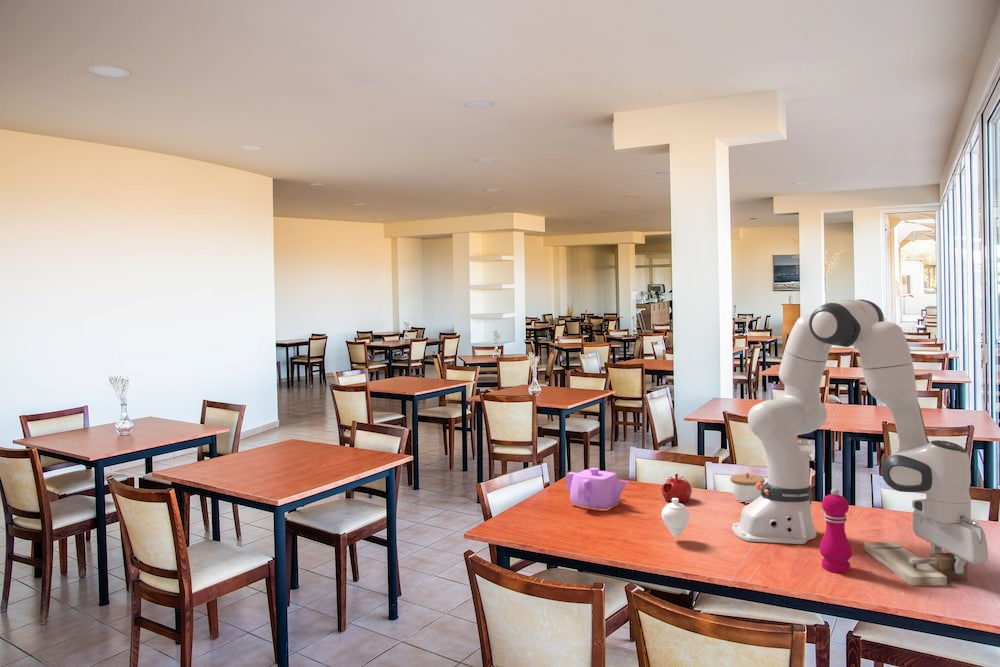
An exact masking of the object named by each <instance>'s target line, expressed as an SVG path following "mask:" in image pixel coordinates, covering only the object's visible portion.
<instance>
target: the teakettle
mask: <svg viewBox="0 0 1000 667" xmlns="http://www.w3.org/2000/svg"><path fill="white" fill-rule="evenodd" d="M627 484H628V480H624V479H621V480H620V482H619V479H618V475H617V473H616V472H611V471H610V470H600V468H599V467H590V468H589V469H583V470H581V471H579V472H571V471H570V472H567V473H566V490H568V491H569V492H570V493H569V494H570V497H569V499H570V500H569V501H570V503H572V504H576V505H579V506H584V507H589V508H596V509H608V508H610V507H612V506H614V505H616V504H617V503H619V504H620V501H621V495H622V492H623V491H624V489H625V487H626V486H627ZM572 504H571V505H572ZM616 506H617V505H616Z"/></svg>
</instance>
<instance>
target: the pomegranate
mask: <svg viewBox="0 0 1000 667" xmlns="http://www.w3.org/2000/svg"><path fill="white" fill-rule="evenodd" d="M674 477H675V478H673V477H672V476H669V478H668V479H666V480H665V482H664V484H663V485H662V486H661V493H662V497H663V498H664V499H665V501H667V502H669V501H671V502H670V503H672V498H678V499H679V501H678V502H684V503H687V502H688V501H689V500H690V498H691V496H692V493H693V492H692V491H693V490H692V485H691V484H690V483H689V479H685V477H684V476H679V473H675V474H674ZM682 478H683V479H682Z"/></svg>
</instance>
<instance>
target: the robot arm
mask: <svg viewBox="0 0 1000 667" xmlns="http://www.w3.org/2000/svg"><path fill="white" fill-rule="evenodd" d="M833 346H838V347H844V348H849V347H851V346H852V347H854V348H855V349H856V350H857V351H858V353H859V356H860V363H861V369H862V374H863V379H864V382H865V385H866V388H867V390H868V392H869V394H870V395H871V397H873V398H874V399H875V400H877V401H879V402H881V403H882V404H883V405H884V406H886V407H887V408H888V409H889V411H890V412H891V415H892V417H893V421H894V425H895V428H896V433H897V437H898V442H899V444H898V445H899V446H898V450H897V451H896V452H894V453H892V454H891V455H888V457H887V458H885V459H884V460H883V462H882V463H881V466H880V473H881V477H882V479H883V481H884V482H885V483H886V485H887V486H888V487H889V488H891V489H893V490H895V491H897V492H903V493H925V498H922V499H921V498H920V499H919V498H918V499H913V500H912V501H911V507H912V508H913V511H912V531H913V533H914V535H915V536H916V537H917V538H919V539H922V540H923V541H925V542H928V543H930V549H931V551H932V553H944V552H943V550H944V551H947V553H952V554H954V555H955V559H957V560H956V562H955V564H952V571H953V572H955V573H957V574H961V573H963V566H964V565H965V563H966V562H967V563H968V562H969V563H971V564H984V563H986V562H988V559H989V551H988V549H989V548H988V542H987V537H986V533H985V531H984V529H983V528H982V526H981V525H980V523H979V522H978V521H976V520H973V519H972V498H971V495H970V486H971V484H972V480H971V478H972V476H971V475H972V474H971V472H972V471H971V462H970V457H969V453H968V452H967V450H966V449H965V448H964V447H963V446H962V445H959V444H958V443H954V442H951V441H947V440H939V439H938V440H931V441H930V440H929V439H928V435H927V430H926V427H925V422H924V419H923V414H922V410H921V407H920V403H919V398H918V397H919V396H918V390H917V384H916V383H917V382H916V376H915V369H914V368H915V367H914V363H913V358H912V353H911V350H910V346H909V344H908V341H907V338H906V336H905V333H904V331H903V329H902V327H901V326H900V325H898V324H897V323H894V322H890V321H885V317H884V313H883V311H882V309H881V308H880V306H878V305H877V304H876V303H874V302H873V301H870V300H868V299H867V300H866V299H843V300H840V301H836V302H827V303H824V304H821V305H820V306H819V307H817V308H816V309H814V311H813V312H812V313H811V314H803V315H801V316H800V317H798V319H796V321H795V323H794V325H793V327H792V329H791V331H790V333H789V336H788V338H787V341H786V343H785V347H784V349H783V350H784V351H783V354H782V357H781V361H780V364H779V369H778V372H777V374H778V378H779V380H780V381H781V382H782V383H783V384H784V387H783V388H784V392H783V395H782V397H781V398H773V399H767V400H764V401H761V402H759V403H757V404H755V405H753V406H752V407H751V408H750V410H749V411H748V413H747V414H748V415H747V425H748V427H749V429H750V431H751V432H752V433H753V434H754V435H755V436H756V437H757V438H758V439H759V441H760V442H761V444H762V446H763V450H764V451H765V452H764V453H765V455H766V456H765V457H766V467H767V468H766V470H767V473H766V474H767V481H766V483H764V485H763V484H762V483H760V482H757V484H755V486H756V488H757V489H758V490H761V496H760V497H758V498H757V499H755V500H754V501H753V502H751V503H750V504H747V505H744V507H742V510H741V513H740V518H739V522H738V521H737V522H734V523H732V526H731V530H732V533H733V534H734V535H735V536H737V537H738V538H739V539H741V540H743V541H747V542H756V543H771V544H772V543H773V544H775V543H776V544H789V545H790V544H793V545H804V544H806V543H807V542H808V541H810V540H811V541H812V540H814V539H815V538H817V531H816V529H815V524H814V520H813V516H812V515H813V514H812V507H811V505H812V500H813V494H812V485H811V484H810V459H809V456H808V455H807V454H806V453H804V452H803V451H802V450H801V449H800V446H799V443H798V440H797V438H798V437H797V436H800V435H804V434H811V433H812V432H815V431H817V430H818V429H820V428H822V427H823V426H824V424H825V423H826V421H827V415H828V414H827V409H826V407H825V405H824V403H823V402H822V400H821V385H822V384H821V383H822V379H823V375H824V372H825V368H826V365H827V361H828V358H829V354H830V351H831V348H832V347H833Z"/></svg>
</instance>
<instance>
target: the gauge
mask: <svg viewBox="0 0 1000 667" xmlns="http://www.w3.org/2000/svg"><path fill="white" fill-rule="evenodd" d="M956 560H957V559H955V555H954V554H952V553H950V552H943V553H933V552H930V557H918V558H909V562H910V563H911V564H913V568H916V564H929V565H930V566H932V567H933V568H935V569H936V570H938V571H939V572H941V573H942V574H944V575H945V576H947V581H963V580H964V581H965V580H966V581H968V561H967V562H966V563H965V565H964V566H963V573H961V574H957V573H955V572H953V571H952V564H955V562H956Z"/></svg>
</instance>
